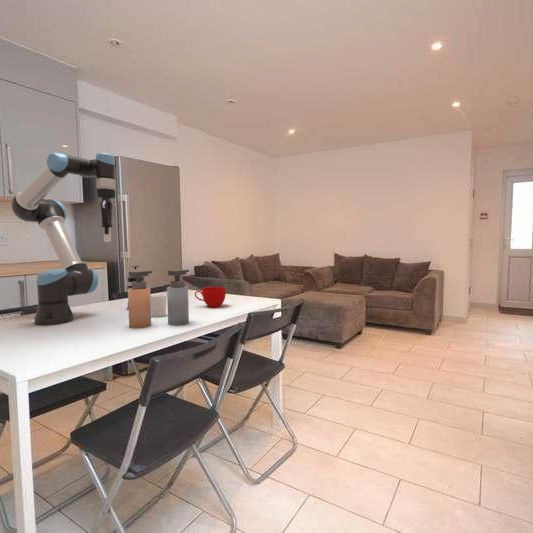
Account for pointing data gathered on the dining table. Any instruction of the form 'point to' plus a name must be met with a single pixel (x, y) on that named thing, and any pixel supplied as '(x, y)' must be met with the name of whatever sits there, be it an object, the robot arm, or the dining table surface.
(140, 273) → the grey dispenser pump
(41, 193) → the robot arm
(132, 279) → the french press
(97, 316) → the dining table surface
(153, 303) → the white cup
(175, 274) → the slate pump head
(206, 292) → the ceramic cup
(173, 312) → the slate pump bottle
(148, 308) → the terracotta pump bottle
